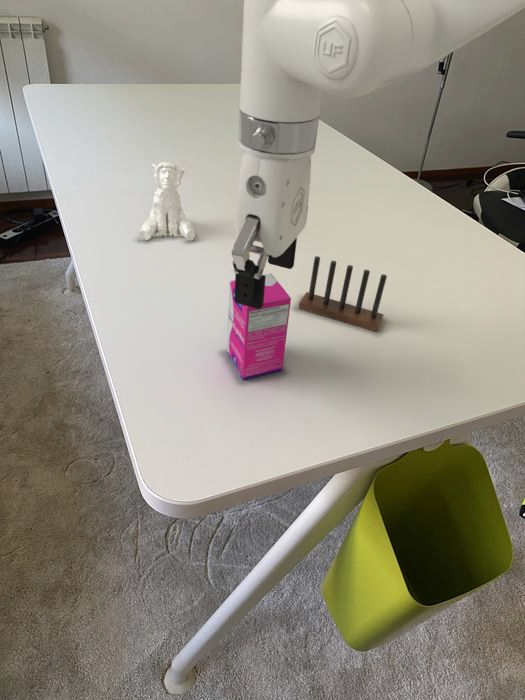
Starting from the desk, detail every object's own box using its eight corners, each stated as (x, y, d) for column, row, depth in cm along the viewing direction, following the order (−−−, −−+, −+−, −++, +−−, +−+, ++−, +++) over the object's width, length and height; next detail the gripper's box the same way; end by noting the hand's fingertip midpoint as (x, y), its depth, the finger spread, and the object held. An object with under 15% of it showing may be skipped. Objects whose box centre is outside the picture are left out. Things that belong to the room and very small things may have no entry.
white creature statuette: (138, 241, 93) (134, 172, 86) (139, 218, 100) (135, 152, 92) (194, 241, 95) (195, 174, 87) (192, 219, 101) (192, 154, 94)
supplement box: (224, 353, 72) (228, 278, 65) (265, 345, 74) (273, 271, 67) (240, 381, 68) (246, 305, 61) (283, 372, 70) (294, 297, 63)
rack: (382, 320, 81) (395, 272, 76) (377, 332, 79) (390, 283, 73) (305, 298, 84) (312, 250, 79) (298, 308, 82) (305, 260, 76)
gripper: (282, 166, 45) (267, 332, 56) (339, 117, 58) (319, 259, 69) (201, 149, 47) (201, 313, 58) (274, 105, 60) (263, 245, 71)
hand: (265, 284), depth 63 cm, fingers open, 9 cm apart
